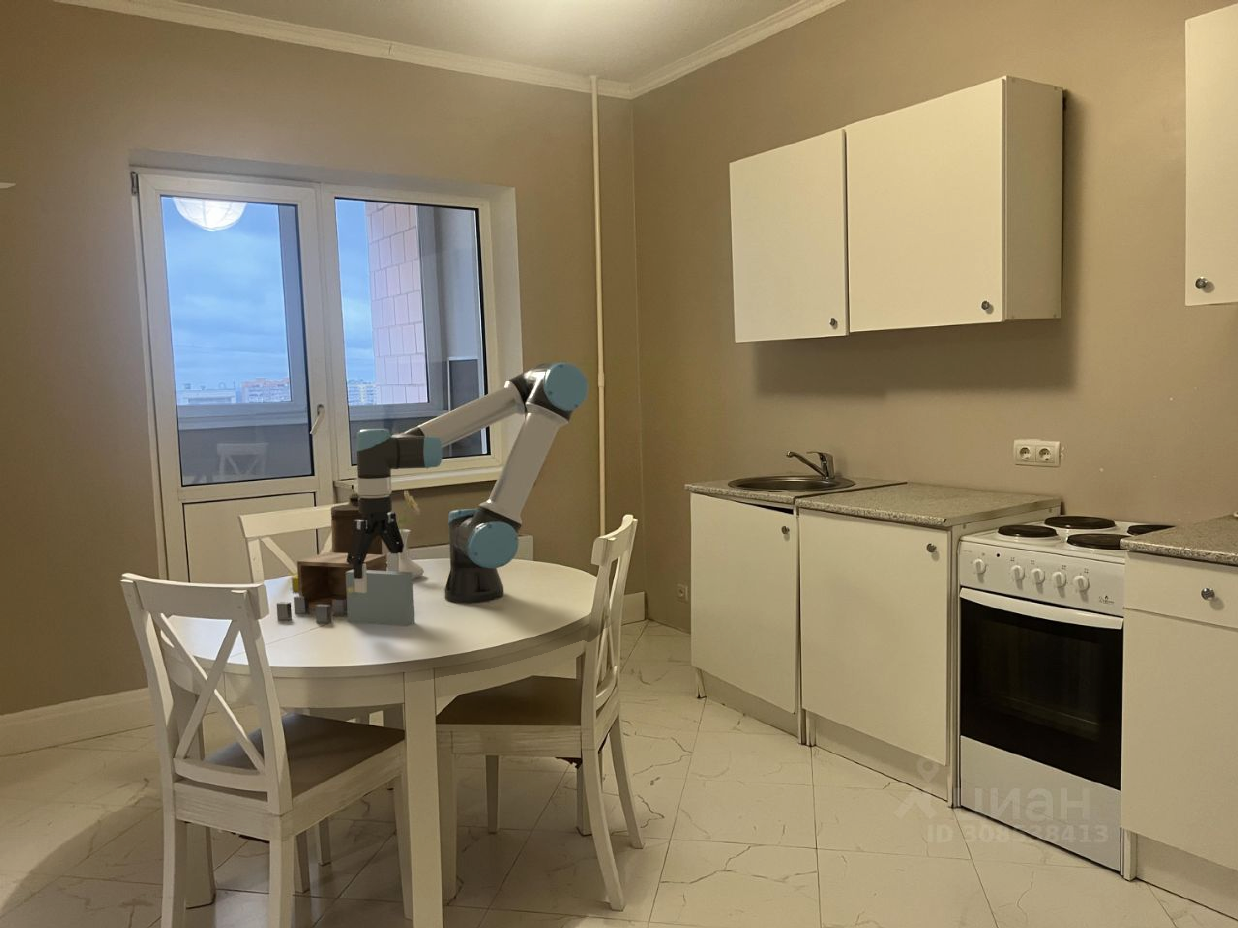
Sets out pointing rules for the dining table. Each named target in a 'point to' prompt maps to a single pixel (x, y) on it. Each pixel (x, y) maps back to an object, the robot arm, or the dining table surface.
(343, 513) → the wooden container
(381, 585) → the door
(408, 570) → the flower in vase
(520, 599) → the dining table surface
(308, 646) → the dining table surface
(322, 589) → the cabinet
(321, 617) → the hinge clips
